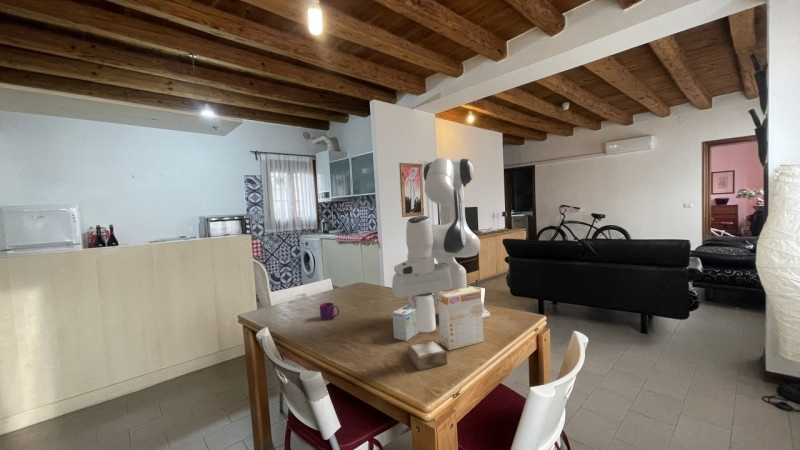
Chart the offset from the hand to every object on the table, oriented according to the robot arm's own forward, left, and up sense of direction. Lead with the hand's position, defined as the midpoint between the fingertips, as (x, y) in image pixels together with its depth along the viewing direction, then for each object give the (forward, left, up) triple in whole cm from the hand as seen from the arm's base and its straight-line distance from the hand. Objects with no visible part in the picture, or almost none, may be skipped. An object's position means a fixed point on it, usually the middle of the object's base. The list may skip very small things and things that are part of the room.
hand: (423, 306), depth 102 cm
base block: (0, 0, -18) cm, 18 cm away
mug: (+27, -59, -19) cm, 68 cm away
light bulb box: (-1, -23, -19) cm, 30 cm away
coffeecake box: (-17, -7, -19) cm, 26 cm away
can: (0, 0, -8) cm, 8 cm away
